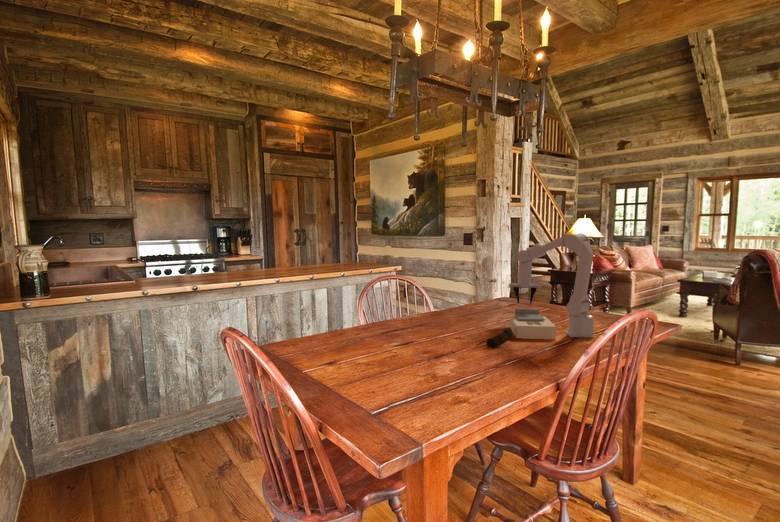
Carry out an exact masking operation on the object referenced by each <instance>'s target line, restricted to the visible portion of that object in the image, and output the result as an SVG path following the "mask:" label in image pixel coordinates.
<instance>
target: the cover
mask: <svg viewBox="0 0 780 522" xmlns="http://www.w3.org/2000/svg"><path fill="white" fill-rule="evenodd" d="M514 316H516V317H517V318H518V320H527V321H545V319H544V318H543V317H542V314H540V309H539V308H514Z"/></svg>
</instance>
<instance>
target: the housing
mask: <svg viewBox="0 0 780 522" xmlns="http://www.w3.org/2000/svg"><path fill="white" fill-rule="evenodd" d="M541 316H542V315H541ZM542 317H543V318H544V319H545V321H527V320H518V318H517V317H516V316H515V315H509V328H511V331H512V334H513V335H514V337H515V338H516V339H517V338H522V339H521V340H523V339H525V340H528V339H529V340H556V339H557V338H556V337H557V335H556V334H557V326H556V325H555V324H554V323H553V322H552V321H550V320H549V318H548V317H546V316H544V315H543V316H542ZM530 323H535V324H538V325H529V324H530Z"/></svg>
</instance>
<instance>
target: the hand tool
mask: <svg viewBox="0 0 780 522" xmlns="http://www.w3.org/2000/svg"><path fill="white" fill-rule="evenodd" d="M512 334H513V332H512V330H511V328H510V327H508V328H504V329H503V330H502V332H500V333H499V334H497V335H495V336H493V337H491V338H487V339H486V346H487V348H490V349H495V348H496V347H497V346H498V345H500V344H502V343H504V342H506V340H508V341H510V340H511V339H512Z"/></svg>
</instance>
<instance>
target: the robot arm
mask: <svg viewBox="0 0 780 522" xmlns="http://www.w3.org/2000/svg"><path fill="white" fill-rule="evenodd" d="M590 241H591V240H590V238H589V237H588V236H587V235H586V234H584V233H577V234H576V233H575V234H573V233H570V234H567V235H564V236H563V235H562V236H561V237H558V238H556V239H554V240H551V241H549V242H547V243H545V244H543V243H535V244H534V245H533V246H531V247H526V248H525V249H524V250H523V249H521V250H519V251H518V253H517V254H516V259H517V261H518V282H516V283H515V282H513V283H511V282H510V283H509V284H508V288H510V289H513V292H514V294H515V297H516V302H517V304H520V289H530V300H529V303H530V304H533V303H532V302H533V299H534V296H535V293H536V292H537V289H539V290H541V289H542V284H540V283H539V284H537V283H532V268H533V267H532V264H533V261H534V260H536V259H538V258H541V257H543V256H545V255H546V254H547V252H548V251H551V250H554V249H558V248H560V247H562V248H563V247H565V248H567V249H568V250H570V251H572V252H573V253H574V254H576V256H577V257H578V260H577V261H578V262H577V267H576V273H575V280H574V286H573V292H572V295H570V298H569V301H568V302H567V304H566V307H565V308H566V312H567V313H568V331H567V330H565V331H564V332H565V333H566V334H567V336H569V337H570V338H591V339H592V338H593V337H594V338H595V336H594V329H595V328H594V327H595V326H594V325H595V322H594V318H593V317H594V316H592V315H589V314H588V312H589V311H590V309H591V304H590V297H589V295H588V290H589V284H590V279H591V273H592V271H591V270H592V265H593V260H594V251H593V249H592V246H591V244H590V243H591V242H590Z"/></svg>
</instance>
